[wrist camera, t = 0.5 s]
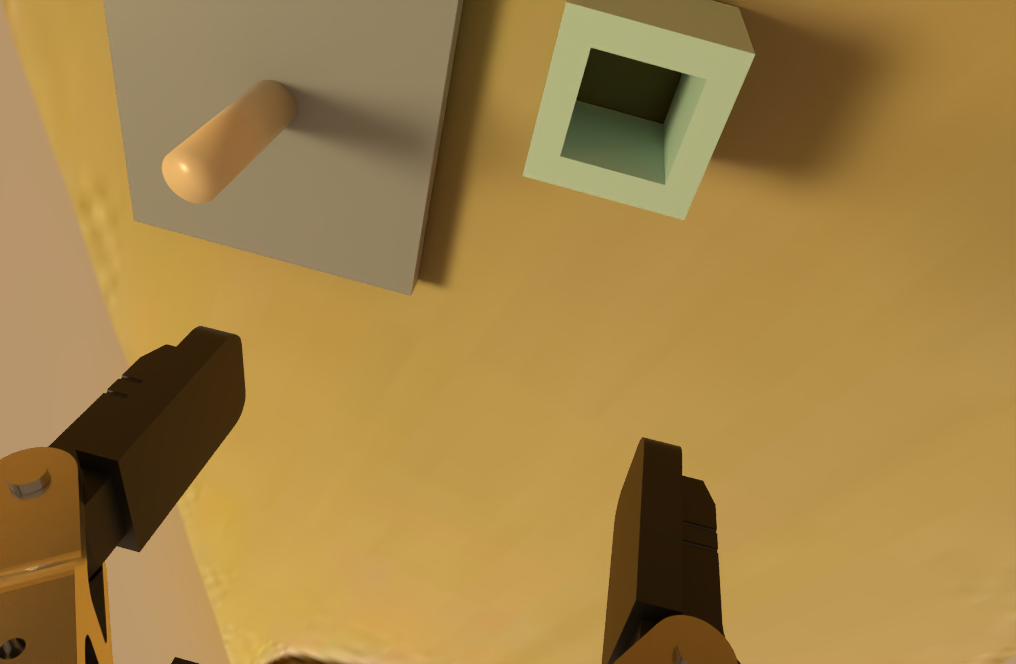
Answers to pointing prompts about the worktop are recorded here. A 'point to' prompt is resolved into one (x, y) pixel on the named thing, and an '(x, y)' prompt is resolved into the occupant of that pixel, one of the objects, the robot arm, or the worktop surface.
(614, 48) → the collar
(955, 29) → the worktop surface
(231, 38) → the board
